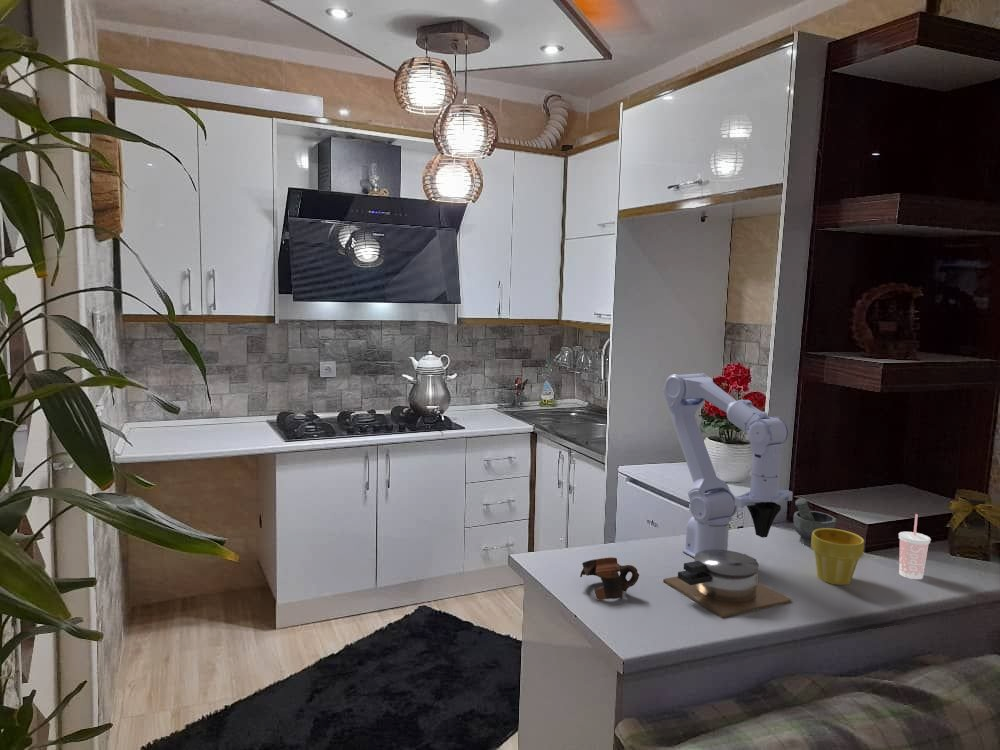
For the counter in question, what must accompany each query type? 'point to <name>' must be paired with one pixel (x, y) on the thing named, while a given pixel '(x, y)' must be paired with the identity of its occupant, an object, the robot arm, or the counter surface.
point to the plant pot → (836, 554)
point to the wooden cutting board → (726, 592)
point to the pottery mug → (610, 577)
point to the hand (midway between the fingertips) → (761, 535)
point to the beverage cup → (913, 553)
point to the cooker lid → (723, 563)
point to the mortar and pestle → (810, 521)
